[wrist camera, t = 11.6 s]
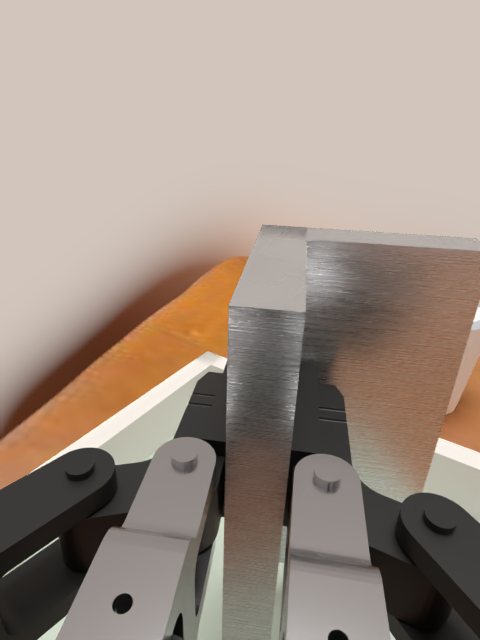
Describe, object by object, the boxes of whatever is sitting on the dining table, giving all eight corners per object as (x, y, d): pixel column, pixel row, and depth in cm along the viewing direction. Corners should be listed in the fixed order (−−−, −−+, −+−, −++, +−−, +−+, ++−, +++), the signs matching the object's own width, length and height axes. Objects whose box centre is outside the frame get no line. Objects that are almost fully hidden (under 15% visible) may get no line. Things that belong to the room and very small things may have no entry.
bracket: (246, 528, 17) (262, 224, 12) (390, 549, 16) (475, 238, 11) (220, 698, 12) (228, 305, 7) (425, 738, 11) (610, 338, 6)
